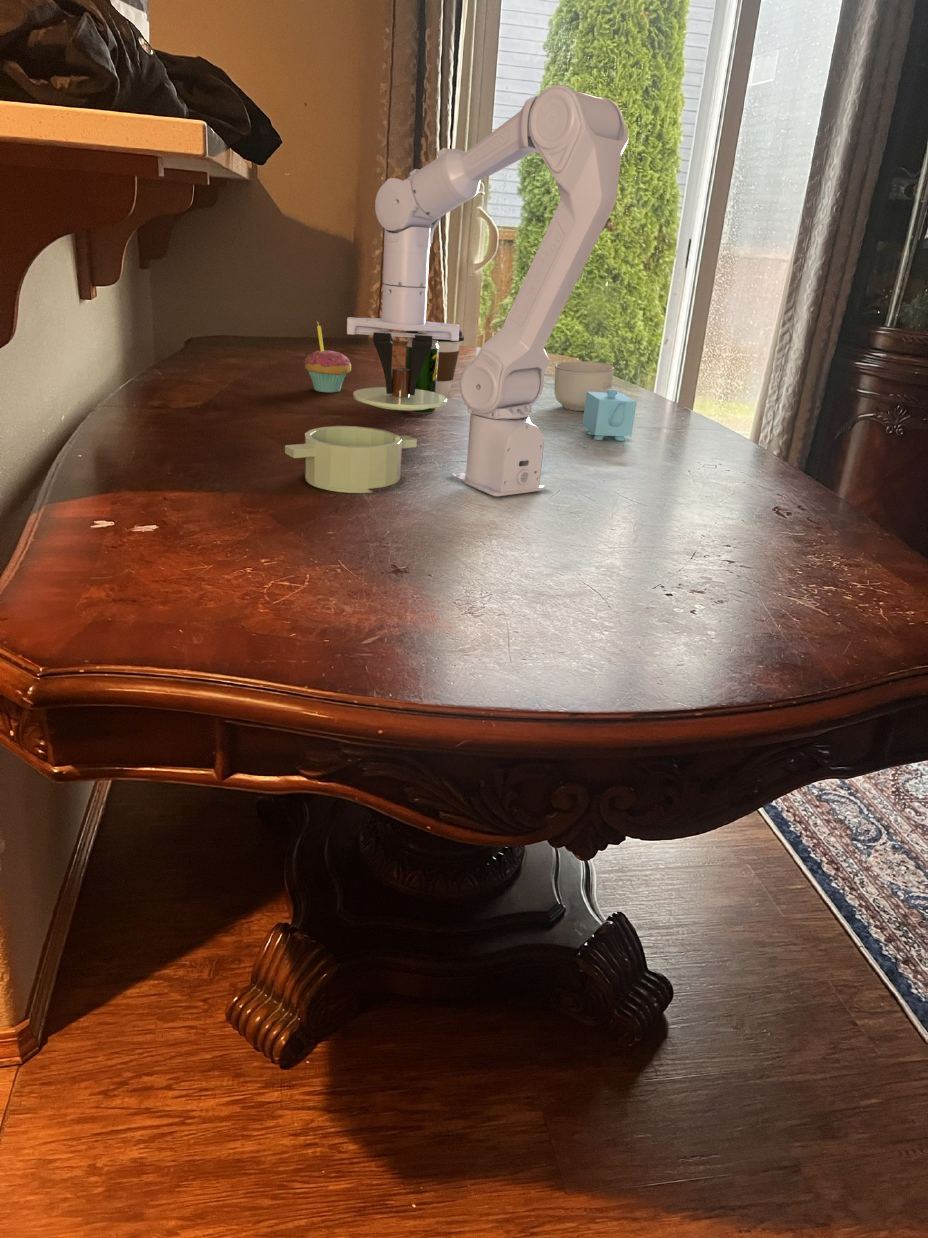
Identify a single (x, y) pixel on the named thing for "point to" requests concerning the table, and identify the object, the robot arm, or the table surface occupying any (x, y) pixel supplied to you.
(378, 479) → the pale green cooking pot
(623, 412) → the teapot
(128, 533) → the table surface
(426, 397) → the pale green pot lid
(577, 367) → the teacup
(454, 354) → the coffee cup
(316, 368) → the cupcake
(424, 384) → the beer can
